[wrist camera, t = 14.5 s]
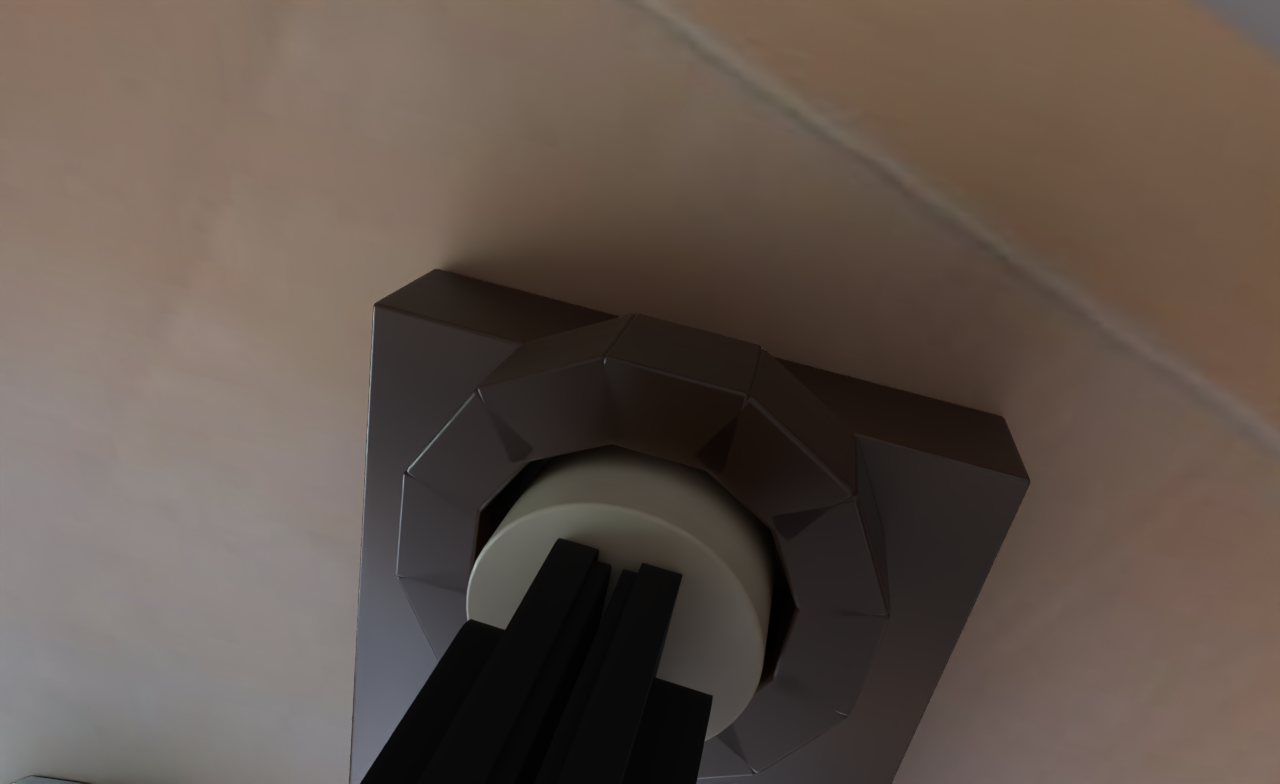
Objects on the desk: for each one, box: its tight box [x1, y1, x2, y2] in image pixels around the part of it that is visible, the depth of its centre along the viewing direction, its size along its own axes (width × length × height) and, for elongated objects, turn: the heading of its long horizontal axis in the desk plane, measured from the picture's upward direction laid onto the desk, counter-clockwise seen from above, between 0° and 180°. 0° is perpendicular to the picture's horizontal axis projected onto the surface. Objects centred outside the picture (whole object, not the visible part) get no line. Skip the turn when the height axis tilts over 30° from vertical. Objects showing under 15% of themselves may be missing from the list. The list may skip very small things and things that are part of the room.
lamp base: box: [349, 269, 1030, 784], centre depth 15 cm, size 15×10×4 cm, turn 169°
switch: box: [466, 444, 776, 741], centre depth 12 cm, size 4×4×2 cm
